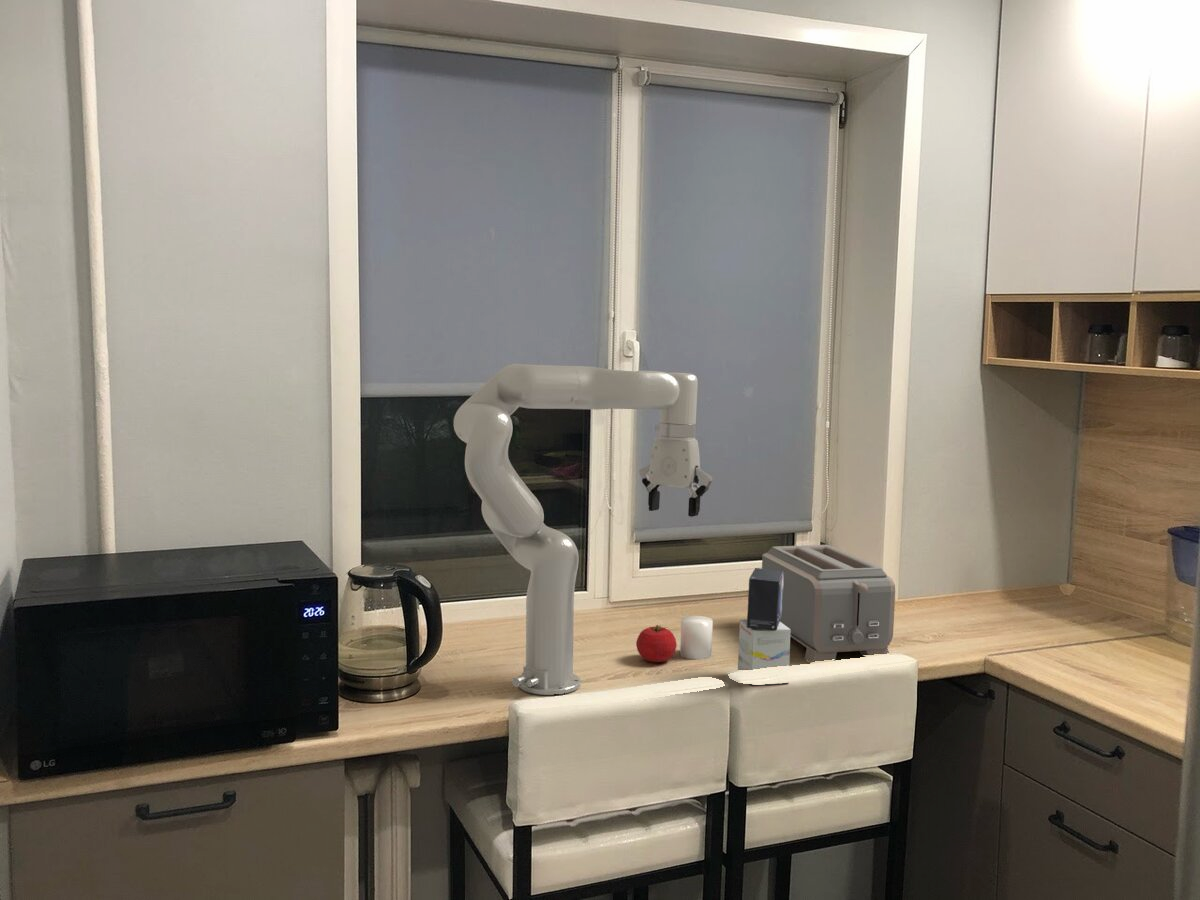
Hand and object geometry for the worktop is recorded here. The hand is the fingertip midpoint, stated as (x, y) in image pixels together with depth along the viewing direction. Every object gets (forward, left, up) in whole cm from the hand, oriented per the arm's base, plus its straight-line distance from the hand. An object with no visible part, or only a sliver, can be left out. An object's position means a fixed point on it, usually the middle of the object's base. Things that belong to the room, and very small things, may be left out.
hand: (673, 513), depth 213 cm
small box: (+6, -19, -22) cm, 30 cm away
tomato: (+3, +5, -34) cm, 34 cm away
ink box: (+6, -19, -34) cm, 39 cm away
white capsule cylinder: (+12, 0, -34) cm, 36 cm away
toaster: (+37, -20, -34) cm, 54 cm away
